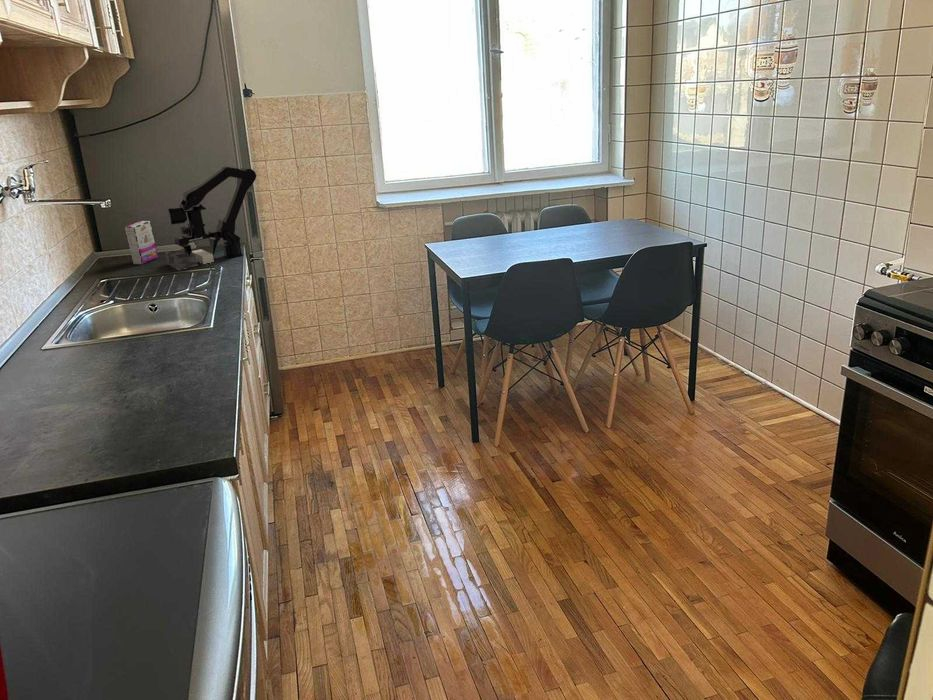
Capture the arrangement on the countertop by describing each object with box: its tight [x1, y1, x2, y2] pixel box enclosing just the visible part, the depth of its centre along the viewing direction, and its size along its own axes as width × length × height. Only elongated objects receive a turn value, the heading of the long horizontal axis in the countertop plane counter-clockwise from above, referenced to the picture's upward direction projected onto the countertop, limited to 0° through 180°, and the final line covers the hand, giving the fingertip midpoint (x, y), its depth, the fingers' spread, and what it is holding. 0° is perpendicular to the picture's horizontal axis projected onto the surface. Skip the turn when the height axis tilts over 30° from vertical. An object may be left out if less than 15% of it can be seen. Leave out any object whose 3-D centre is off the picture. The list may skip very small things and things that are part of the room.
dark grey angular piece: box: [164, 248, 199, 270], centre depth 296 cm, size 8×14×6 cm, turn 42°
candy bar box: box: [124, 220, 159, 265], centre depth 303 cm, size 11×5×16 cm, turn 167°
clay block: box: [192, 249, 215, 265], centre depth 302 cm, size 4×12×4 cm, turn 42°
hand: (202, 257), depth 302 cm, fingers open, 9 cm apart
